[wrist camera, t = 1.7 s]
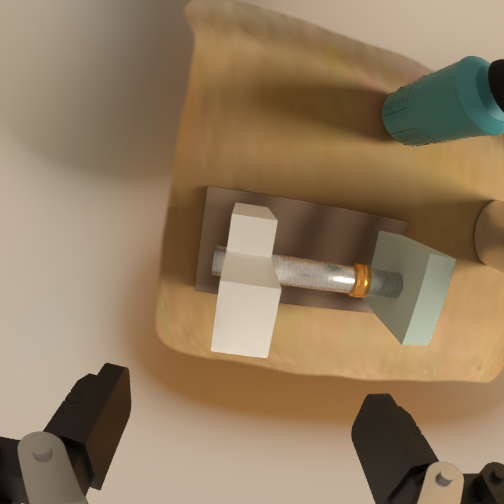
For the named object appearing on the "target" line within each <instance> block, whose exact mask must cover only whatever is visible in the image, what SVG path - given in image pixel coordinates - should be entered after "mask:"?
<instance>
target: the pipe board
mask: <svg viewBox="0 0 504 504" xmlns="http://www.w3.org/2000/svg"><path fill="white" fill-rule="evenodd" d="M236 202H237V203H244V204H250V205H257V206H263V207H268V208H269V210H270V211H271V212H272V214H273V215H274V216H275V218H276V219H277V220H278V223H277V229H276V234H275V240H274V246H273V251H272V254H277V255H284V256H291V257H298V258H304V259H311V260H318V261H325V262H331V263H338V264H345V265H352V264H353V263H358V264H364V265H368V266H369V267H370V268H371V264H372V260H373V256H374V252H375V247H376V243H377V239H378V234H379V231H384V232H389V233H394V234H399V235H403V236H405V237H406V232H407V227H408V222H405V221H401V220H397V219H392V218H388V217H383V216H379V215H374V214H369V213H364V212H360V211H355V210H350V209H345V208H340V207H334V206H329V205H324V204H319V203H313V202H308V201H302V200H296V199H291V198H285V197H279V196H273V195H267V194H261V193H254V192H248V191H241V190H234V189H228V188H221V187H213V186H208V188H207V195H206V202H205V209H204V217H203V224H202V232H201V240H200V248H199V257H198V265H197V274H196V283H195V291H199V292H206V293H212V294H218V291H219V284H220V278H221V276H218V275H212V265H213V258H214V252H215V247H216V245H217V246H223V247H227V244H228V238H229V231H230V224H231V217H232V212H233V209H234V206H235V203H236ZM280 286H281V294H280V299H279V303H285V304H293V305H301V306H310V307H319V308H328V309H337V310H347V311H357V312H367V313H374V312H373V311H372V310H371V309H370V308H369V307H368V305H367V304H366V303H365V302H364V301H363V300H362V299H363V298H361V297H352V296H349V295H348V294H347V293H343V292H335V291H327V290H319V289H311V288H303V287H296V286H288V285H281V284H280Z"/></svg>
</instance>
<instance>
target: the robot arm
mask: <svg viewBox="0 0 504 504" xmlns="http://www.w3.org/2000/svg"><path fill="white" fill-rule="evenodd" d="M474 244H475V250H476V253H477V255H478V257H479V259H480V260H481V261H482V262H483V263H484V264H486V265H488V266H490V267H493V268H495V269H497V270H499V271H501V272H503V273H504V202H503V201H492V202H490V203H489V204H487V205H486V206H485V207H484V208H483V210H482V211H481V213H480V215H479V217H478V219H477V223H476V226H475V233H474ZM130 411H131V392H130V376H129V369H128V368H126V367H122V366H118V365H113V364H110V363H106V364H104V366H103V367H102V369H101V370H100V372H99V373H98V375H94V374H90V373H89V374H88V375H86V376H85V377H83V378H81V379H80V380H78V381H77V382H76V384H75V385H74V387H73V388H72V389H71V392H70V393H69V394H68V395H67V397H66V398H65V401H63V402H62V404H61V405H60V407H59V408H58V410H57V411H56V413H55V414H54V416H53V417H52V419H51V420H50V422H49V423H48V425H47V426H46V428H45V429H44V430H43V432H33V433H30V434H28V435H26V436H25V437H23V438H22V439H21V440H15V439H10V438H4V437H0V504H21V503H23V504H88V502H87V499H86V497H85V496H86V494H87V491H88V489H89V487H91V488H95V489H97V490H101V487H102V485H103V482H104V480H105V477H106V474H107V472H108V469H109V466H110V464H111V461H112V459H113V456H114V454H115V451H116V449H117V446H118V444H119V441H120V439H121V436H122V434H123V431H124V429H125V427H126V424H127V422H128V419H129V416H130ZM351 436H352V442H353V444H354V447H355V449H356V452H357V455H358V457H359V460H360V463H361V465H362V468H363V471H364V473H365V476H366V479H367V481H368V484H369V487H370V489H371V492H372V495H373V498H374V500H375V503H376V504H504V465H503V464H501V463H497V462H492V463H488V464H487V465H486V466H485V467H484V468H483V469H482V470H481V472H480V473H479V474H462V472H461V471H460V470H459V468H458V467H456V466H455V465H453V464H451V463H449V462H443V461H442V462H439V460H438V459H437V457H436V455H435V454H434V452H433V450H432V449H431V447H430V445H429V444H428V442H427V440H426V439H425V438H424V436H423V434H421V431H420V429H419V428H418V426H416V423H415V421H414V420H413V418H412V416H411V415H410V414H409V413H408V412H406V411H405V410H404V409H403V408H402V407H401V406H397V404H396V403H395V401H394V400H393V398H392V397H391V395H390V394H387V393H386V394H368V395H367V397H366V398H365V400H364V402H363V404H362V406H361V409H360V411H359V413H358V415H357V417H356V419H355V422H354V424H353V426H352V432H351Z"/></svg>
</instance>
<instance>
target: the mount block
mask: <svg viewBox="0 0 504 504" xmlns="http://www.w3.org/2000/svg"><path fill="white" fill-rule="evenodd" d="M455 263H456V259H455V258H453V257H450V256H448V255H446V254H444V253H442V252H439V251H437V250H435V249H433V248H431V247H428V246H426V245H424V244H422V243H419V242H417V241H415V240H412V239H410V238H408V237H405V236H403V235H399V234H394V233H389V232H384V231H379V234H378V239H377V243H376V247H375V252H374V256H373V260H372V264H371V268H372V269H378V270H385V271H392V272H398V273H400V274H401V275H402V277H403V289H402V292H401V294H400V296H399V297H398V298H396V299H395V298H386V297H377V296H368V295H366V296H365V297H364V298H363V299H362V300H363V301H364V302H365V303H366V304H367V305H368V307H369V308H370V309H371V310H372V311H373V312H374V313H375V314H376V316H377V317H378V318H379V319H380V320H381V321H382V322H383V324H384V325H385V326H386V327H387V328H388V329H389V330H390V332H391V333H392V334H393V335H394V336H395V337H396V338H397V340H398V341H399V342H400V343H401V344H402V345H429V343H430V340H431V337H432V335H433V332H434V329H435V327H436V324H437V321H438V318H439V315H440V312H441V309H442V306H443V303H444V300H445V297H446V294H447V291H448V287H449V284H450V281H451V277H452V274H453V270H454V266H455Z"/></svg>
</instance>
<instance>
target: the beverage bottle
mask: <svg viewBox="0 0 504 504" xmlns="http://www.w3.org/2000/svg"><path fill="white" fill-rule="evenodd" d="M413 81H414V80H413ZM400 88H401V89H400V90H399V88H398V91H397V89H396V92H394V93H393V92H392V93H391V95H390V94H389V96H388V97H387V99H386V100H385V102H384V105H383V108H382V119H383V123H384V126H385V128H386V130H387V131H388V133H389V134H390V135H391V136H392V137H393V138H394V139H395V140H397V141H399V142H401V144H402V143H403V145H406V146H407V145H416V146H420V145H418V144H422V145H428V143H434V144H436V142H440V141H442V143H443V142H444V141H445V142H447V140H448V141H449V140H455V139H456V140H457V139H461V138H464V139H465V138H468V137H476V136H485V135H491V136H495V135H500V134H502V133H503V132H504V60H503V59H500V60H496V61H494V62H492V63H491V64H490V63H489V62H487V61H486V60H484V59H482V58H480V57H476V56H468V57H465V58H463V59H461V60H460V61H458V62H456V63H454V64H452V65H449V66H447V67H445V68H443V69H441V70H439V71H436V72H434V73H431V74H429V75H427V76H424V75H423V78H421V79H420V77H419V79H418V80H417V81H415V82H413V83H411V84H409V85H407V86H405V87H404V88H402V87H400ZM449 142H451V141H449ZM425 143H426V144H425ZM440 143H441V142H440ZM412 147H414V146H412Z"/></svg>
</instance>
